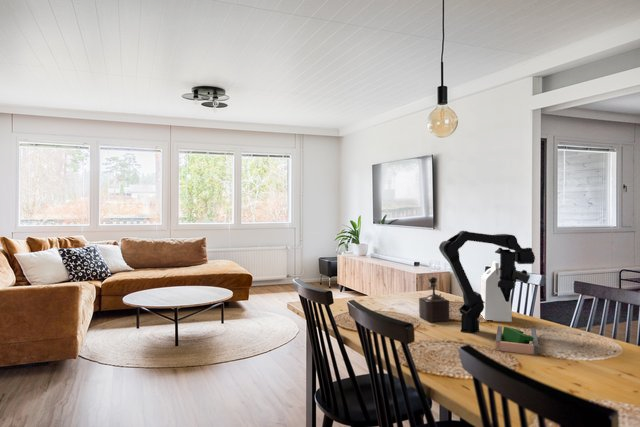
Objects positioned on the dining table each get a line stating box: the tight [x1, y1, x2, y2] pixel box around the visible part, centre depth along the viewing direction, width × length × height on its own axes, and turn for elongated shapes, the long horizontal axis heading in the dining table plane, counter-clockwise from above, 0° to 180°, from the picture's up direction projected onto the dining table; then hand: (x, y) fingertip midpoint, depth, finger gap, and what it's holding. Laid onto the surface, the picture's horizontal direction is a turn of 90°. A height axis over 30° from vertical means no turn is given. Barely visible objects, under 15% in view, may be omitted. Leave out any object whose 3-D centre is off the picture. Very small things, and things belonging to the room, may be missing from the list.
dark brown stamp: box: [418, 276, 450, 323], centre depth 211 cm, size 16×11×18 cm
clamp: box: [501, 326, 534, 344], centre depth 169 cm, size 12×6×9 cm, turn 1°
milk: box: [480, 260, 513, 323], centre depth 211 cm, size 12×12×26 cm
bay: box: [494, 325, 539, 356], centre depth 173 cm, size 14×24×3 cm, turn 157°
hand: (507, 301), depth 190 cm, fingers closed
